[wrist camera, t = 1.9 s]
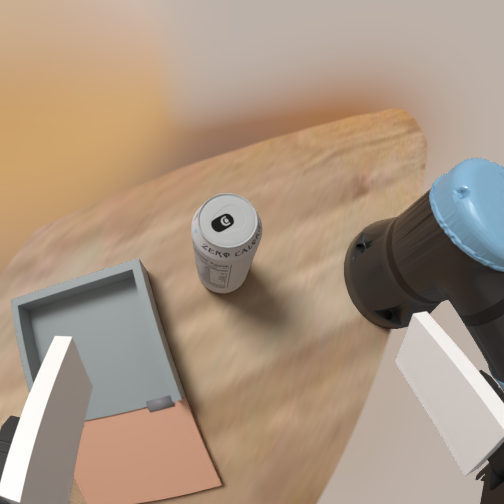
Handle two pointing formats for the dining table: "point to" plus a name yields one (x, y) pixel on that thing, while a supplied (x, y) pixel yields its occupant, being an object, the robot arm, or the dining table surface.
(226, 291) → the energy drink can
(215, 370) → the dining table surface
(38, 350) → the hinged lid tray
